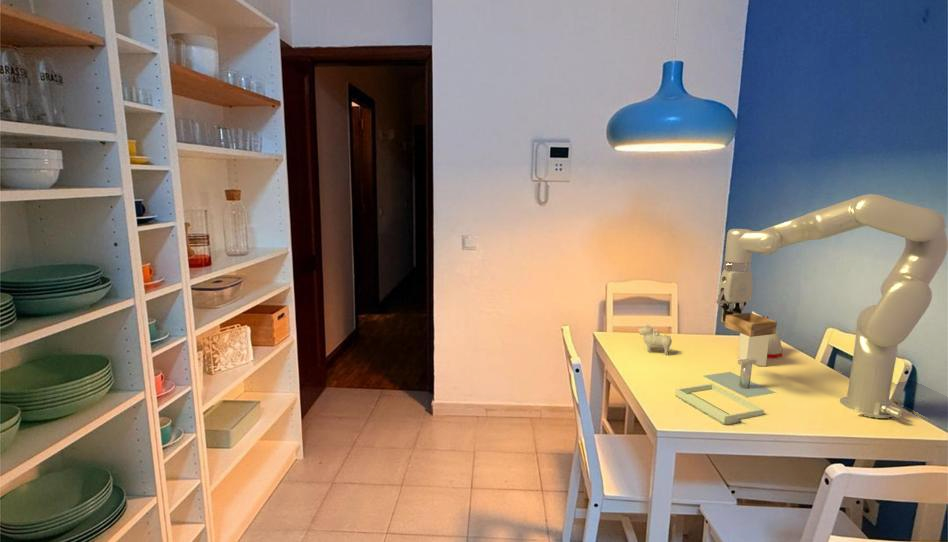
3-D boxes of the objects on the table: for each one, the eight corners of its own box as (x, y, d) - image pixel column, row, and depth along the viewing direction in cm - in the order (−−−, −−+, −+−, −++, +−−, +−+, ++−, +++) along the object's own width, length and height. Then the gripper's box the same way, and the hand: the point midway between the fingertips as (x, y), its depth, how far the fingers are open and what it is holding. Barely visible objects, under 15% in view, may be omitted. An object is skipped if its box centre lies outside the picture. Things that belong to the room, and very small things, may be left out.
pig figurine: (638, 347, 198) (640, 322, 196) (671, 352, 192) (673, 326, 190) (635, 350, 193) (637, 325, 191) (669, 356, 187) (671, 330, 185)
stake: (755, 387, 156) (758, 360, 155) (740, 389, 155) (743, 362, 153) (747, 383, 159) (750, 357, 158) (733, 386, 157) (736, 359, 156)
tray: (762, 417, 138) (763, 409, 138) (723, 425, 134) (724, 416, 133) (711, 390, 156) (711, 383, 156) (675, 396, 152) (675, 389, 151)
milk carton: (756, 359, 184) (762, 311, 181) (765, 366, 177) (771, 316, 174) (737, 359, 185) (742, 311, 181) (745, 365, 178) (751, 316, 175)
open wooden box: (775, 334, 150) (777, 321, 150) (750, 336, 147) (752, 324, 146) (736, 319, 164) (737, 308, 163) (712, 322, 161) (714, 310, 160)
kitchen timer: (748, 344, 202) (752, 309, 200) (786, 352, 192) (790, 316, 190) (736, 351, 193) (740, 315, 191) (774, 361, 183) (779, 323, 181)
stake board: (775, 395, 153) (776, 392, 153) (746, 400, 149) (746, 397, 149) (729, 374, 170) (730, 371, 169) (702, 378, 166) (702, 375, 166)
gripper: (726, 270, 151) (720, 326, 154) (766, 267, 156) (760, 322, 159) (708, 266, 158) (703, 320, 161) (746, 264, 163) (741, 316, 166)
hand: (731, 321), depth 160 cm, fingers closed on open wooden box, 3 cm apart
